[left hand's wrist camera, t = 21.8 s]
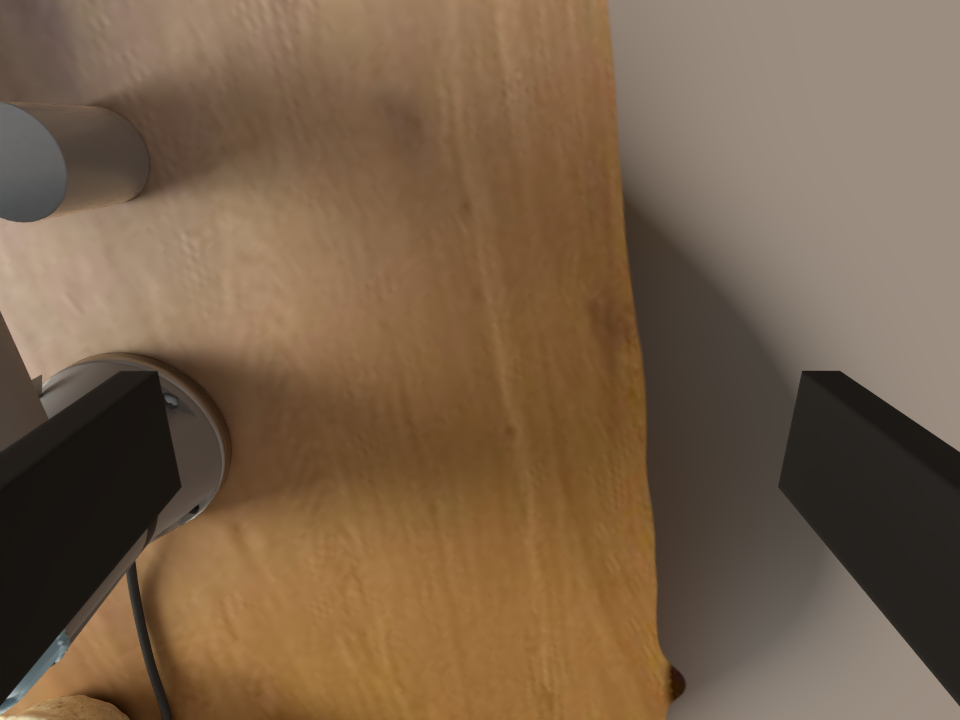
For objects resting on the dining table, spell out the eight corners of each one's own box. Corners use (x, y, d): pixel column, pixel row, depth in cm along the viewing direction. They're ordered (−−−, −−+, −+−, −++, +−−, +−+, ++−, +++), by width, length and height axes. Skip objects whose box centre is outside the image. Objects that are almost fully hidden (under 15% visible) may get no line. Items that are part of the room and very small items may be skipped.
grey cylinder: (158, 204, 43) (79, 222, 34) (67, 204, 43) (-33, 222, 34) (139, 105, 41) (50, 100, 32) (44, 105, 41) (-70, 100, 32)
